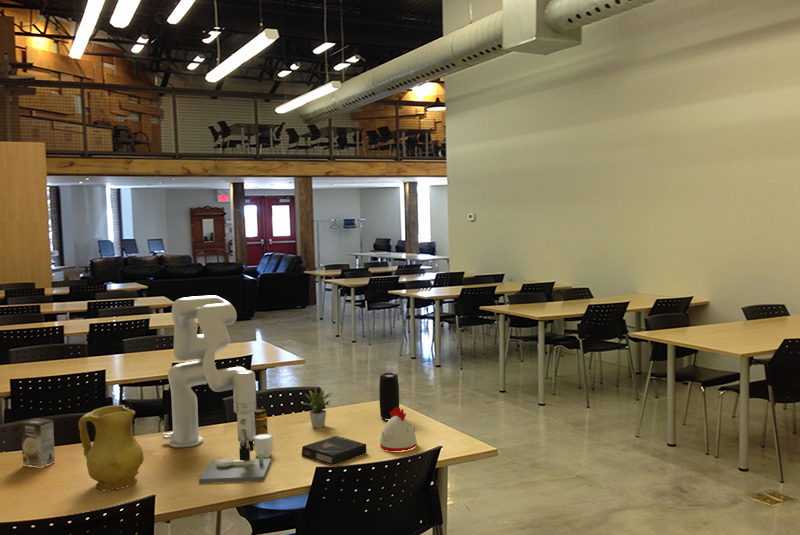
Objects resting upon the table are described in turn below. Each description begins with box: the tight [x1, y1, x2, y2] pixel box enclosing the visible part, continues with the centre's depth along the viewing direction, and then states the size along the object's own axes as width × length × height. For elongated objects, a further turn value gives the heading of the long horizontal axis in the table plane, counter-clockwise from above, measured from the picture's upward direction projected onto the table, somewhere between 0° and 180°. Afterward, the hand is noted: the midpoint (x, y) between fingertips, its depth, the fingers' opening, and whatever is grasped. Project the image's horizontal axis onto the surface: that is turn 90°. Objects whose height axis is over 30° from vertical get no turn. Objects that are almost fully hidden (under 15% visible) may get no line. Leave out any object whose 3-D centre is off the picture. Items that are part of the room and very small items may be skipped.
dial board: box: [198, 452, 272, 484], centre depth 230 cm, size 21×18×6 cm
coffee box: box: [20, 417, 56, 467], centre depth 242 cm, size 9×6×16 cm
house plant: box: [302, 388, 336, 429], centre depth 283 cm, size 14×14×16 cm
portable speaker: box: [378, 372, 400, 420], centre depth 293 cm, size 9×9×20 cm
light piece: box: [216, 445, 255, 467], centre depth 233 cm, size 13×6×6 cm, turn 93°
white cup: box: [254, 433, 274, 458], centre depth 248 cm, size 7×7×7 cm
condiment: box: [253, 408, 269, 441], centre depth 266 cm, size 7×8×12 cm
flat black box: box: [301, 435, 367, 466], centre depth 247 cm, size 16×17×4 cm
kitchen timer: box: [379, 407, 418, 451], centre depth 255 cm, size 14×14×15 cm
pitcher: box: [78, 404, 144, 491], centre depth 222 cm, size 17×19×25 cm
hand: (246, 455), depth 233 cm, fingers open, 9 cm apart
